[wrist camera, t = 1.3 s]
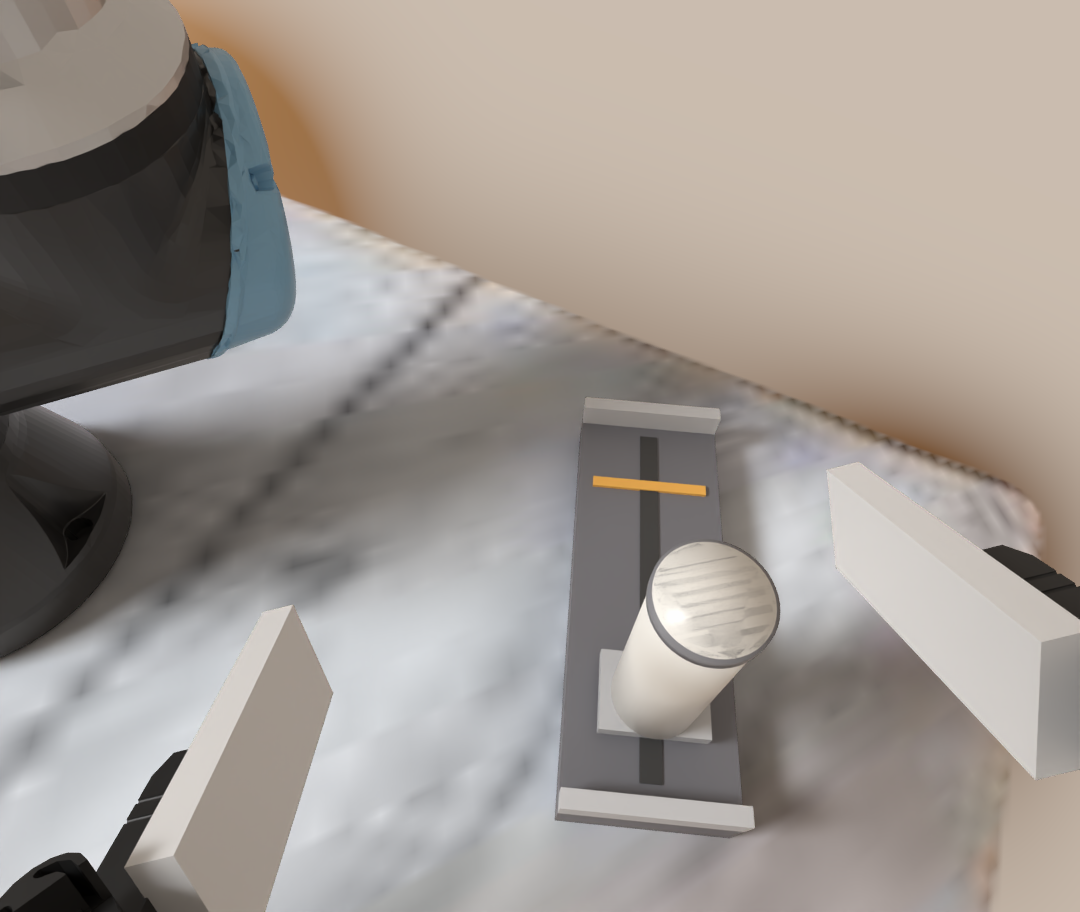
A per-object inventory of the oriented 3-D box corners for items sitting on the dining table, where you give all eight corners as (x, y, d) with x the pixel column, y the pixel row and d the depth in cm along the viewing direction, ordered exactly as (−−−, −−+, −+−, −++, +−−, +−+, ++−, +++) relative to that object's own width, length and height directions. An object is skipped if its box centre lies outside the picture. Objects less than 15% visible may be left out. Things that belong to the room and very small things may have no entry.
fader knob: (708, 751, 30) (801, 670, 20) (596, 740, 30) (635, 654, 20) (703, 658, 32) (784, 546, 23) (599, 648, 33) (636, 532, 23)
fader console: (728, 838, 31) (754, 828, 28) (554, 820, 31) (559, 808, 28) (704, 447, 43) (719, 408, 40) (579, 436, 44) (585, 396, 40)
